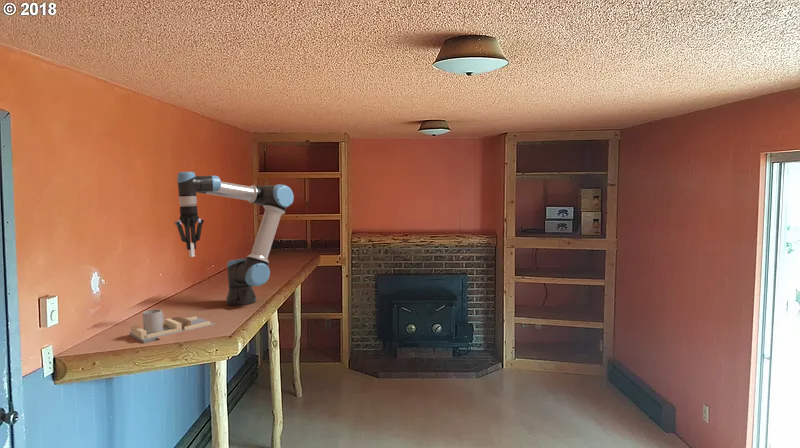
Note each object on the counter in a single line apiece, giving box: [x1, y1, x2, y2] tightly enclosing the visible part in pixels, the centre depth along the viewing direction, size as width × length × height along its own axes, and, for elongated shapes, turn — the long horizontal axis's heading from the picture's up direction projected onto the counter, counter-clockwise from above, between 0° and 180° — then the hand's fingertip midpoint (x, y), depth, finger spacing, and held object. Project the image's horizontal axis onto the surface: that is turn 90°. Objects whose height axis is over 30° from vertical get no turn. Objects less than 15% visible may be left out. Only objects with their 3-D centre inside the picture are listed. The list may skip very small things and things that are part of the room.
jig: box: [129, 315, 216, 344], centre depth 226 cm, size 30×18×4 cm, turn 134°
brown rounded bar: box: [170, 316, 191, 330], centre depth 229 cm, size 4×12×3 cm, turn 43°
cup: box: [142, 309, 165, 335], centre depth 222 cm, size 7×10×9 cm
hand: (192, 256), depth 243 cm, fingers closed
